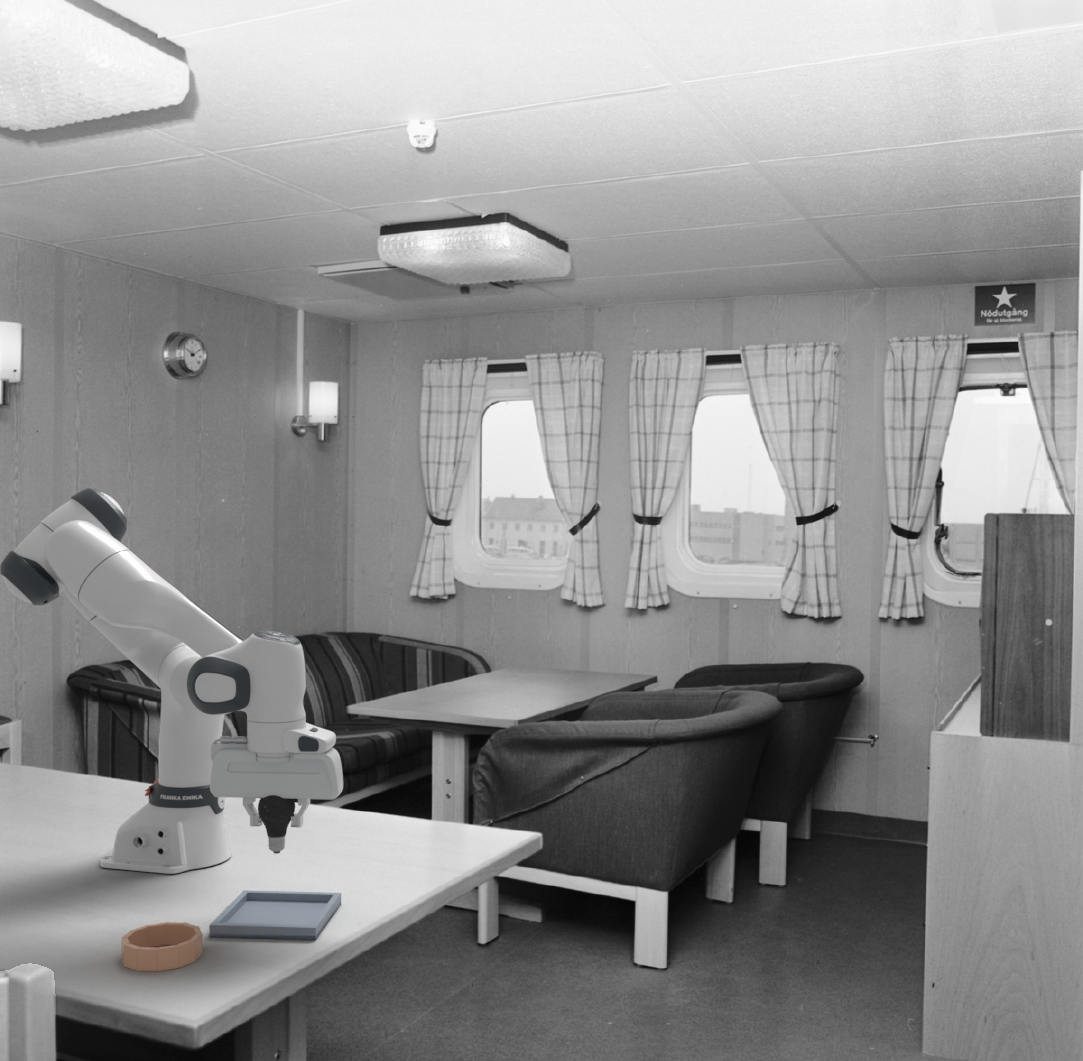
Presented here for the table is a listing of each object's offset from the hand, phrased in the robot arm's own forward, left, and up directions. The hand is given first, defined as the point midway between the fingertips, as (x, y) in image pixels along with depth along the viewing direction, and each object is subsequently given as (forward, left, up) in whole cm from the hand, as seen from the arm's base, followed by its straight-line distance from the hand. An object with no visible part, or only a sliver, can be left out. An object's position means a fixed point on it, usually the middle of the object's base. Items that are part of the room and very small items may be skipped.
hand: (276, 826), depth 180 cm
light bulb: (0, 0, -4) cm, 4 cm away
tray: (0, 0, -15) cm, 15 cm away
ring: (-12, -16, -15) cm, 25 cm away
